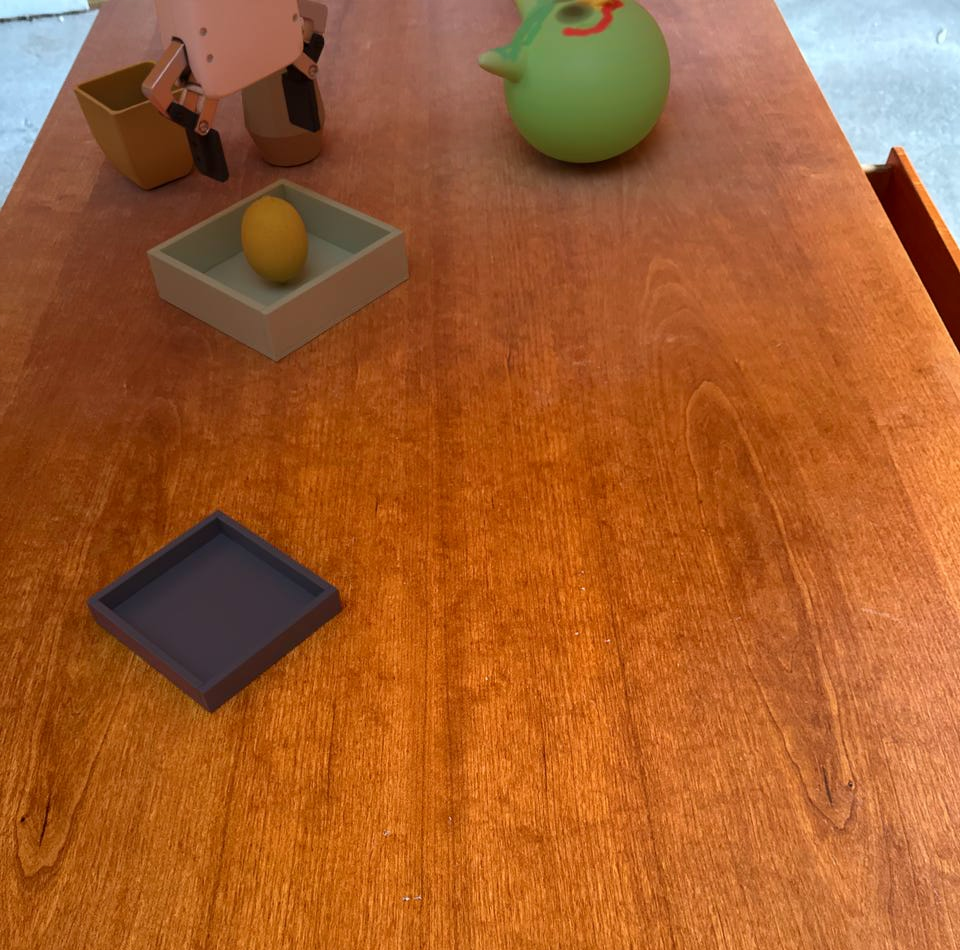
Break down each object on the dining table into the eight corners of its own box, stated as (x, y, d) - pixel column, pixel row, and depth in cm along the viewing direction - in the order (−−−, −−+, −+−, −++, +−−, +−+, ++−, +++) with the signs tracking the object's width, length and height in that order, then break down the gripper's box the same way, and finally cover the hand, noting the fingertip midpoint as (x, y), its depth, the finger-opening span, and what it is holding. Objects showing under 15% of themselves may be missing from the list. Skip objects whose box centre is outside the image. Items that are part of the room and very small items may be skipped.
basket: (159, 297, 104) (145, 251, 100) (291, 223, 111) (282, 177, 107) (276, 362, 96) (265, 314, 93) (409, 277, 103) (404, 230, 100)
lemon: (327, 274, 104) (312, 188, 98) (289, 306, 101) (271, 219, 95) (277, 259, 106) (259, 174, 100) (238, 291, 103) (218, 205, 97)
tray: (94, 620, 78) (85, 600, 77) (224, 529, 83) (218, 508, 82) (211, 714, 72) (203, 693, 71) (343, 609, 77) (338, 588, 76)
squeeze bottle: (280, 182, 116) (242, -15, 103) (236, 154, 120) (195, -38, 107) (346, 153, 119) (318, -41, 106) (302, 127, 124) (269, -63, 110)
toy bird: (660, 195, 110) (670, 31, 99) (482, 191, 113) (473, 30, 102) (670, 107, 122) (680, -49, 111) (508, 105, 124) (503, -48, 113)
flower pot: (173, 145, 123) (150, 56, 116) (217, 174, 118) (196, 83, 111) (98, 175, 119) (69, 85, 112) (139, 206, 114) (112, 114, 108)
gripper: (267, -134, 87) (309, 98, 100) (74, -58, 79) (146, 183, 92) (336, -117, 84) (370, 121, 96) (141, -36, 76) (207, 211, 89)
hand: (261, 151), depth 94 cm, fingers open, 9 cm apart
